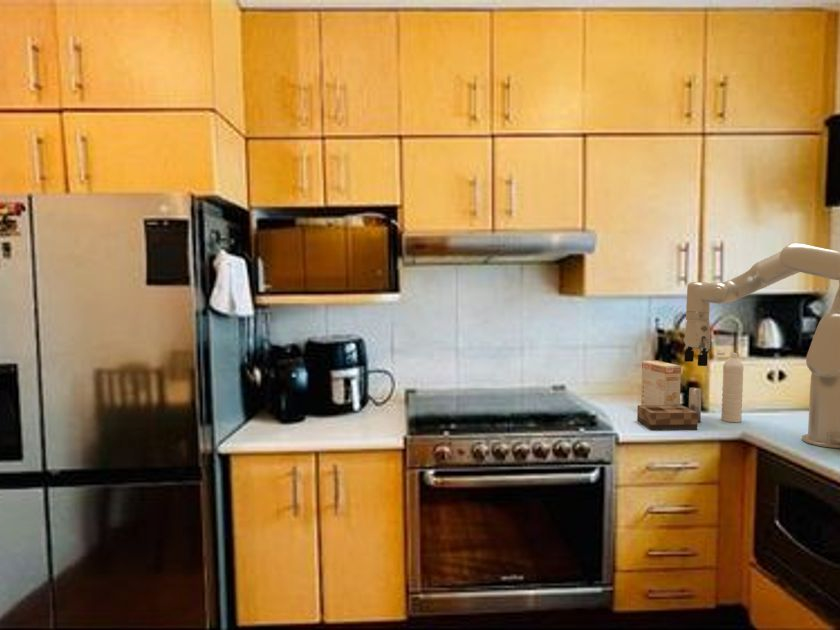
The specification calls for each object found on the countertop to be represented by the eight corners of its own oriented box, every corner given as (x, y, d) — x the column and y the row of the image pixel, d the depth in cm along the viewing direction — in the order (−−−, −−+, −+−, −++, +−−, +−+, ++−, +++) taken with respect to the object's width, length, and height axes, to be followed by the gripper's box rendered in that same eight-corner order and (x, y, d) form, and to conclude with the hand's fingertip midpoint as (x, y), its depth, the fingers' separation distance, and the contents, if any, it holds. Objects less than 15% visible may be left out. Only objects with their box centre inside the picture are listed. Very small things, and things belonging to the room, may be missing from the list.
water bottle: (738, 418, 213) (740, 351, 211) (743, 423, 207) (746, 354, 205) (712, 417, 215) (714, 351, 213) (717, 421, 209) (719, 353, 207)
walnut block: (697, 430, 198) (697, 412, 197) (651, 430, 197) (651, 413, 197) (680, 421, 209) (681, 405, 209) (637, 421, 209) (637, 405, 209)
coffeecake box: (680, 417, 216) (681, 365, 215) (663, 418, 214) (664, 366, 213) (656, 408, 230) (657, 359, 229) (640, 409, 229) (641, 360, 228)
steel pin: (702, 422, 208) (703, 389, 207) (691, 422, 208) (692, 389, 207) (696, 419, 212) (698, 387, 211) (686, 419, 212) (687, 387, 211)
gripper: (720, 318, 199) (718, 367, 200) (695, 314, 216) (693, 360, 217) (699, 318, 198) (697, 367, 200) (675, 314, 216) (674, 359, 217)
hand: (695, 363), depth 208 cm, fingers open, 9 cm apart
